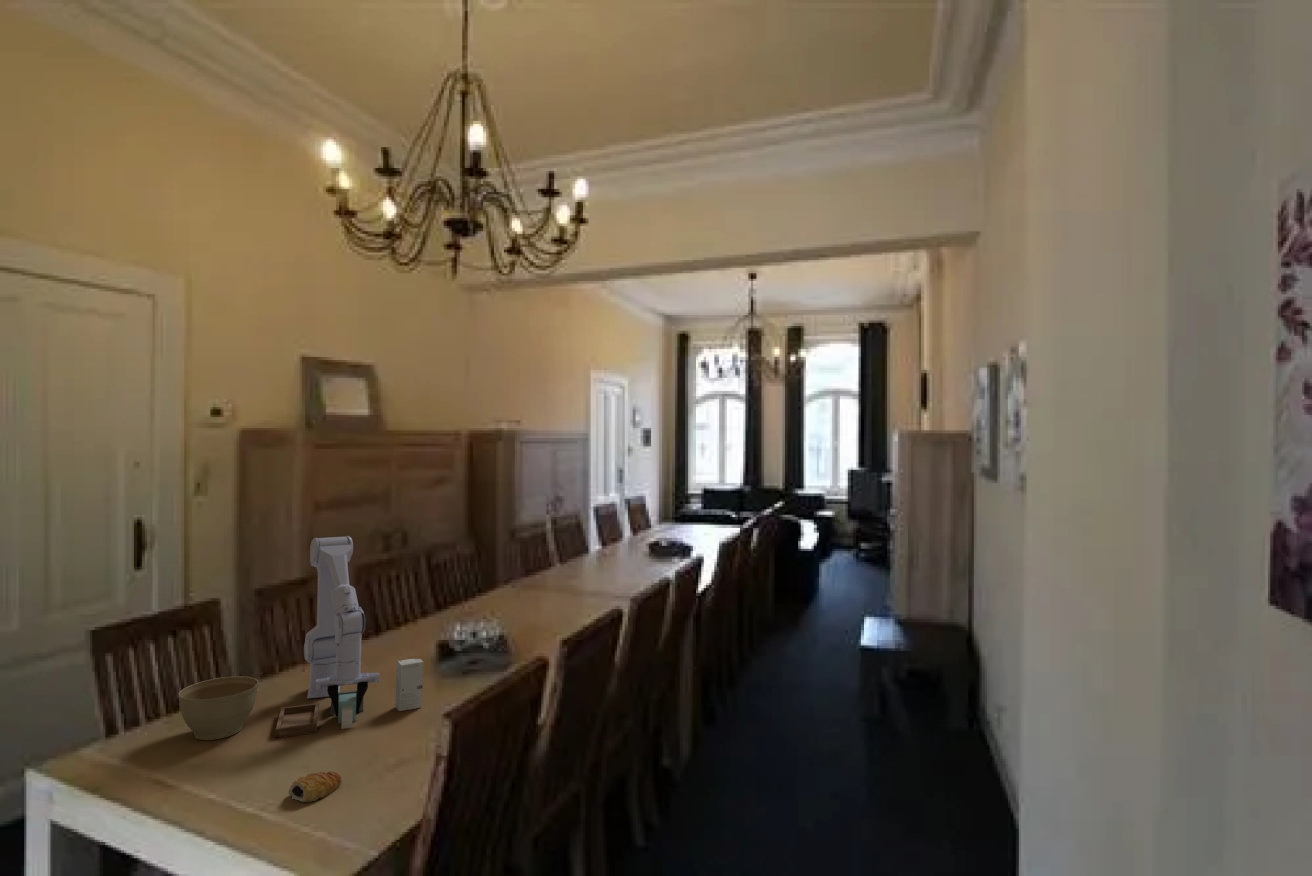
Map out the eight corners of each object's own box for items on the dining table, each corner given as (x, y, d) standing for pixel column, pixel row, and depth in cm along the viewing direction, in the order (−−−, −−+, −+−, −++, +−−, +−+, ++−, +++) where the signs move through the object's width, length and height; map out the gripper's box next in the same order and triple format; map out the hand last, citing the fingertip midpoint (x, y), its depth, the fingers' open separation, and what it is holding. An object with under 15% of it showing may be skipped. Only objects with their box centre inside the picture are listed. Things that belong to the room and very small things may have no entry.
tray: (281, 715, 174) (281, 707, 174) (318, 710, 177) (319, 703, 177) (275, 737, 160) (275, 729, 160) (316, 732, 164) (316, 724, 164)
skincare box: (398, 712, 177) (400, 665, 177) (394, 706, 181) (395, 660, 181) (423, 707, 181) (424, 661, 181) (418, 702, 184) (419, 657, 185)
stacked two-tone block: (338, 714, 175) (339, 694, 175) (355, 712, 176) (356, 692, 177) (337, 729, 166) (338, 708, 166) (355, 726, 167) (356, 706, 167)
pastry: (328, 778, 142) (329, 759, 142) (349, 787, 139) (350, 768, 139) (285, 798, 134) (285, 778, 134) (306, 807, 130) (307, 787, 130)
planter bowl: (247, 714, 174) (248, 671, 174) (265, 733, 162) (267, 687, 163) (170, 731, 163) (172, 685, 163) (184, 754, 151) (186, 704, 151)
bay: (331, 706, 180) (331, 692, 180) (362, 702, 183) (363, 689, 183) (330, 715, 174) (331, 701, 174) (363, 711, 177) (363, 697, 177)
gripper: (315, 667, 166) (314, 723, 165) (380, 660, 172) (378, 715, 171) (317, 658, 172) (315, 713, 172) (379, 653, 178) (377, 705, 178)
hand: (347, 713), depth 172 cm, fingers closed on stacked two-tone block, 4 cm apart
